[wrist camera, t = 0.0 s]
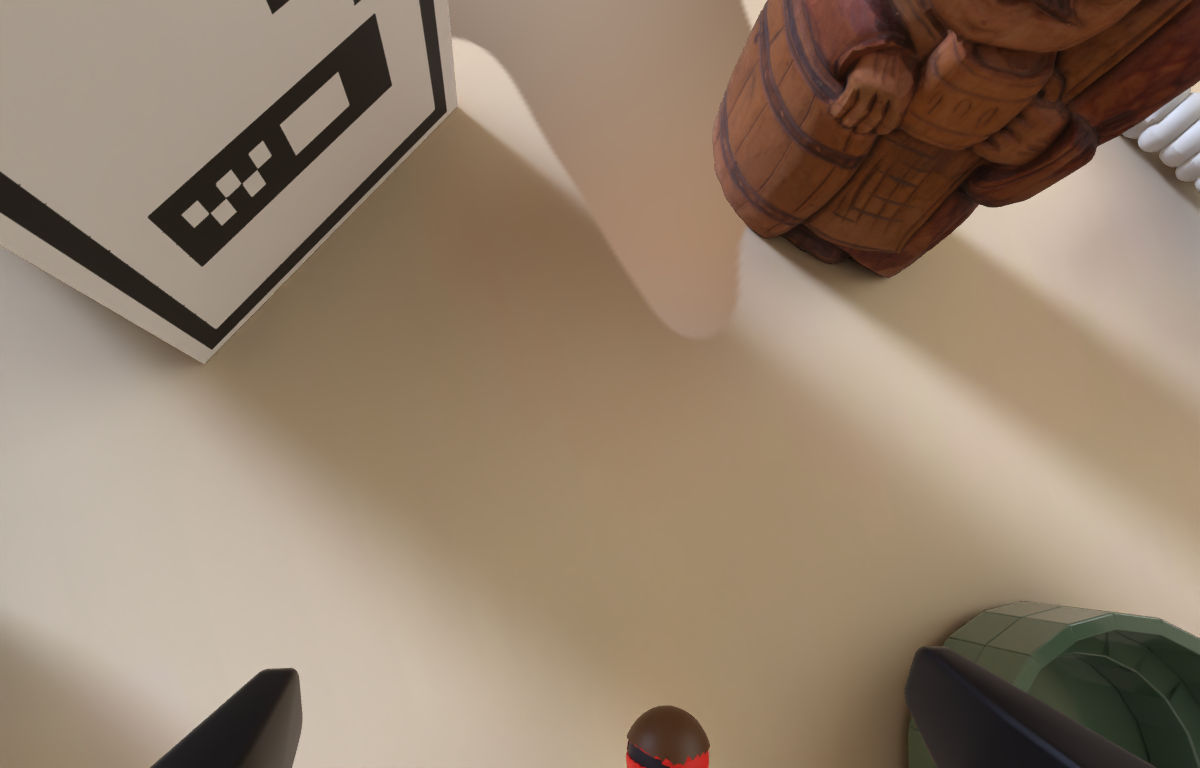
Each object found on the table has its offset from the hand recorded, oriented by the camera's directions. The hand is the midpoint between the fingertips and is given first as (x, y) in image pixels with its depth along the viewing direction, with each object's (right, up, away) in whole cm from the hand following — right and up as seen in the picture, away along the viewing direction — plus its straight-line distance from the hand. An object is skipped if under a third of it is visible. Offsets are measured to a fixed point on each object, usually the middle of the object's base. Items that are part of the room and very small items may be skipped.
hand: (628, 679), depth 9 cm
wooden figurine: (+9, +13, +21) cm, 26 cm away
